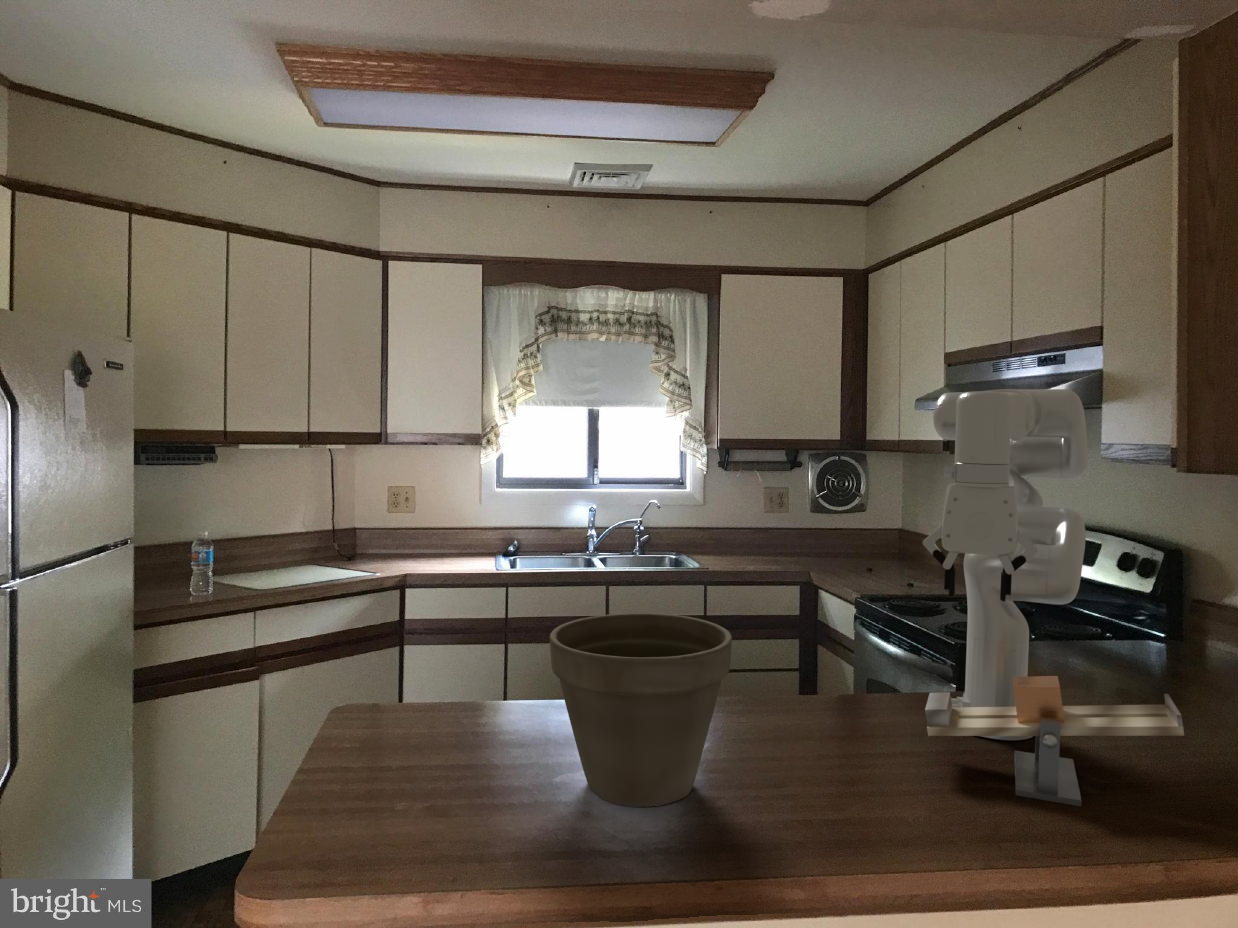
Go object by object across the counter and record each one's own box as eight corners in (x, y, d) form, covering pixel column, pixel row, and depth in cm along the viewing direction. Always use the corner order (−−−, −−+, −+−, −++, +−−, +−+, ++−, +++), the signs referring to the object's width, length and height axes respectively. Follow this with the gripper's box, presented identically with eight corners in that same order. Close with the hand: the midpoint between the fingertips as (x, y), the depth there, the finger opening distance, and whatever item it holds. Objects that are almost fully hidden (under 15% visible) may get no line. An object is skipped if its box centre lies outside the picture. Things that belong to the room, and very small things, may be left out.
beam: (928, 735, 127) (924, 710, 127) (933, 715, 136) (930, 691, 136) (1184, 735, 114) (1180, 707, 114) (1170, 712, 123) (1167, 686, 123)
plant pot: (568, 836, 106) (570, 660, 105) (533, 760, 130) (535, 615, 129) (758, 815, 112) (762, 649, 111) (691, 746, 136) (694, 608, 135)
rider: (1019, 729, 124) (1013, 687, 124) (1018, 717, 130) (1012, 676, 130) (1065, 729, 122) (1059, 686, 122) (1063, 716, 127) (1057, 675, 127)
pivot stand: (1015, 795, 120) (1018, 719, 119) (1014, 755, 135) (1017, 688, 134) (1081, 806, 117) (1084, 729, 116) (1072, 764, 131) (1075, 695, 131)
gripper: (916, 474, 128) (912, 596, 129) (1048, 479, 121) (1043, 608, 122) (921, 472, 135) (917, 587, 135) (1045, 477, 128) (1041, 598, 128)
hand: (977, 596), depth 129 cm, fingers open, 6 cm apart
